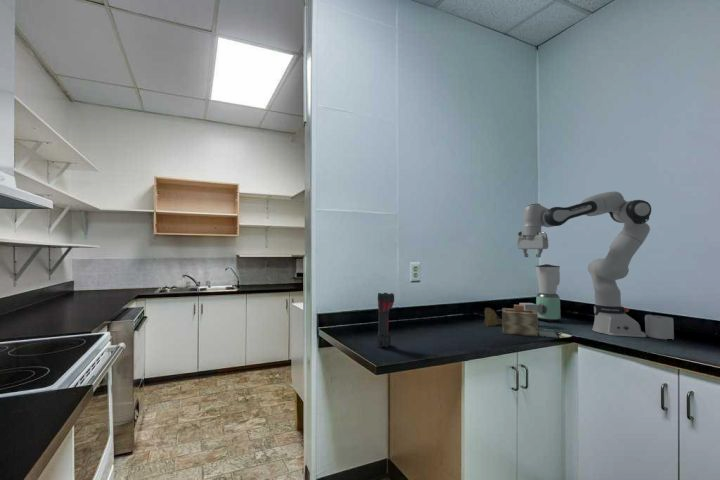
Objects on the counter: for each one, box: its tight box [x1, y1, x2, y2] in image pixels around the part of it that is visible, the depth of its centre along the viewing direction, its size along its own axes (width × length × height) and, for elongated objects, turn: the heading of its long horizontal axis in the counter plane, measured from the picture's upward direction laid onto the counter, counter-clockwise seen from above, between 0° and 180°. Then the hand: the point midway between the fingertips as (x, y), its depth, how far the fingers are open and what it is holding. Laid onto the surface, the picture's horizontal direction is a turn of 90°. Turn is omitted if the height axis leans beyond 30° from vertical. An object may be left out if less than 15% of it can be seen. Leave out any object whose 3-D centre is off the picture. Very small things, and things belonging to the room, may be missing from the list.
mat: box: [538, 330, 559, 339], centre depth 168 cm, size 8×10×1 cm
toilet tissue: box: [644, 314, 675, 340], centre depth 166 cm, size 11×12×10 cm
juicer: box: [535, 263, 561, 324], centre depth 207 cm, size 19×13×35 cm
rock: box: [484, 307, 501, 327], centre depth 191 cm, size 11×9×10 cm
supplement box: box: [518, 302, 539, 322], centre depth 191 cm, size 7×7×13 cm
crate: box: [501, 307, 539, 338], centre depth 174 cm, size 16×14×11 cm
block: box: [513, 304, 524, 312], centre depth 174 cm, size 4×4×8 cm
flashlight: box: [376, 292, 395, 348], centre depth 146 cm, size 8×8×23 cm
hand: (532, 257), depth 184 cm, fingers open, 8 cm apart
